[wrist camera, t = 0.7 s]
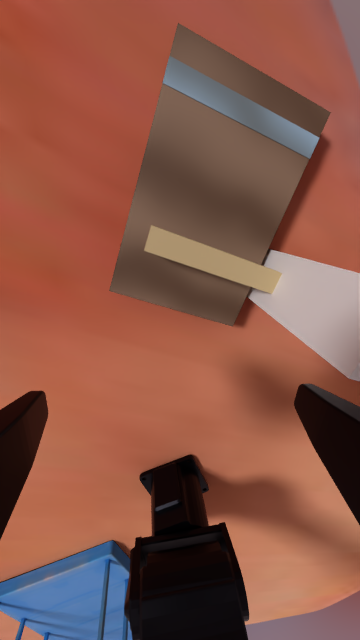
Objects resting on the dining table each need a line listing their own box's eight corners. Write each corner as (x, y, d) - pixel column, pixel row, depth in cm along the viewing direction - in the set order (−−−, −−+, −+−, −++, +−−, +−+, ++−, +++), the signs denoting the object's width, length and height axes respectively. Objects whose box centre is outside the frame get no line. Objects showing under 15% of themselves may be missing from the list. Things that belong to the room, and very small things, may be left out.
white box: (282, 306, 22) (417, 396, 11) (139, 259, 19) (131, 320, 8) (304, 263, 21) (483, 317, 10) (155, 205, 18) (172, 188, 7)
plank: (225, 317, 22) (232, 326, 20) (112, 283, 20) (109, 291, 18) (310, 123, 17) (331, 112, 15) (174, 47, 15) (178, 22, 13)
